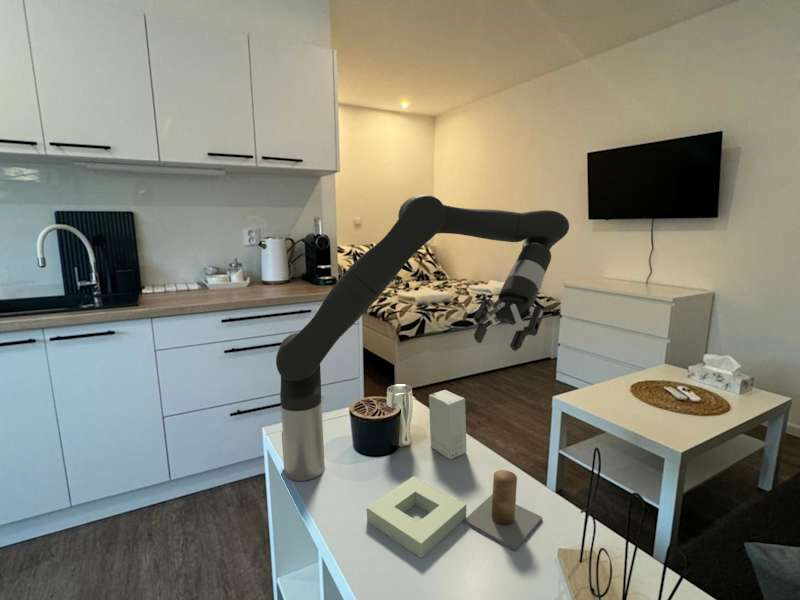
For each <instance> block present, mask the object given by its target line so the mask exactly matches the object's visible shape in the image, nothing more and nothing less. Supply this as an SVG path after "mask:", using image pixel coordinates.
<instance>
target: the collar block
mask: <svg viewBox="0 0 800 600" xmlns="http://www.w3.org/2000/svg"><path fill="white" fill-rule="evenodd" d="M415 505H416V506H417V507H419V508H421V509H422V510H424V511H426V512H428V513H427V515H425V516H424V517H422V519H420V520H419V521H418V520H416V519H415V518H413V517H411V516H410V515H408V514H407V513H406V512H407V511H409V510H410V509H412V507H414V506H415ZM466 518H467V503H465V502H464V501H462V500H460V499H458V498H455V497H454V496H452V495H451V494H449V493H446V492H444V491H442V490H441V489H438V488H437V487H435V486H433V485H431V484H429V483H427V482H426V481H423V480H421V479H420V478H418V477H415V475H413V476H412V477H410V478H409V479H407V480H405V481H403V483H401V484H400V485H398V486H396V487H395V488H394V489H392V490H391V491H390V492H388V493H386V494H385V495H384V496H382V497H380V498H379V499H378V500H376V501H375V502H373V503H371V504H370V505H369V506H367V507H366V520H367V521H366V522H368V523H369V524H371V525H372V526H374V527H375V528H377V530H379V531H381V532H382V533H384V534H385V535H386V536H388V537H390V538H391V539H392V540H393V541H395V542H396V543H398V544H400V545H401V546H402V547H404V548H406V549H407V550H408V551H410V552H411V553H412V554H415V556H417V557H418V558H419V559H423V558H424V557H425V555H427V554H428V553H429V552H430V551H431V550H432V549H434V547H436V545H438V544H439V543H440V542H441V541H442V540H443V539H445V538H446V537H447V536H448V535H449V534H450V533H451V532H452V531H453V530H455V528H456V527H458V526H459V525H460V524H461V523H462V522H464V520H465V519H466Z"/></svg>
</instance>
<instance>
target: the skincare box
mask: <svg viewBox="0 0 800 600" xmlns="http://www.w3.org/2000/svg"><path fill="white" fill-rule="evenodd" d="M428 403H429V404H428V406H429V408H428V409H429V433H430V447H431V448H432V449H434V450H436V451H437V452H439V453H440V454H442V455H443V456H444V457H446V458H447V459H448V460H452V459H454V458H457V457H460V456H463V455H465V454H466V453H467V424H466V423H467V422H466V420H467V419H466V418H467V417H466V398H464V397H463V396H460V395H457V394H456V393H453V392H451V391H448V390H447V389H443V390H440V391H437V392H434V393H431V394H429V395H428Z"/></svg>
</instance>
